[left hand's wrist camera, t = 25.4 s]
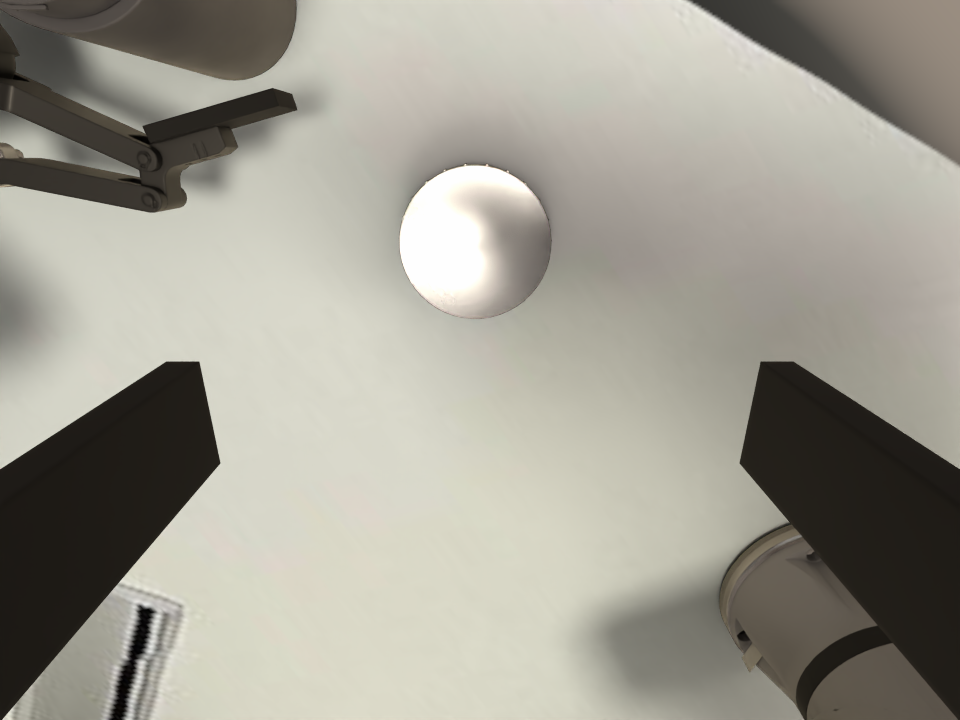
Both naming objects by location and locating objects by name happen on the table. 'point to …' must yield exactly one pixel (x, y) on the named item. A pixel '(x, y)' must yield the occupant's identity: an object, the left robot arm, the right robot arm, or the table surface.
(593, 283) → the table surface
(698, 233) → the table surface
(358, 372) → the table surface
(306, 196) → the table surface
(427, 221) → the lid
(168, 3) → the jar
